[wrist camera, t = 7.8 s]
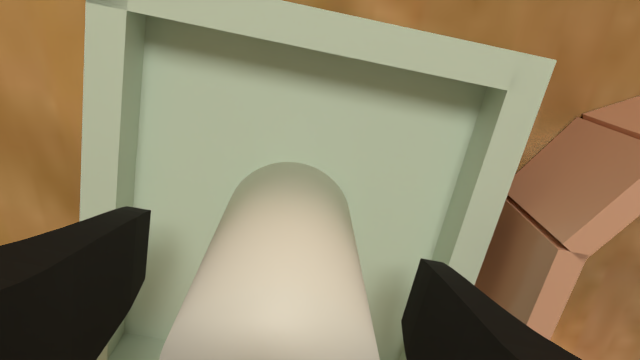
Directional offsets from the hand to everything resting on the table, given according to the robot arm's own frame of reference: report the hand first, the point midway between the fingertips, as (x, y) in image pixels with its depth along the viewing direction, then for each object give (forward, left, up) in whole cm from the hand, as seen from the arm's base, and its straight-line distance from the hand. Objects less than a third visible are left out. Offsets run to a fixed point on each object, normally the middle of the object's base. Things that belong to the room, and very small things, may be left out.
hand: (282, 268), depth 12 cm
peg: (0, 0, -3) cm, 3 cm away
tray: (0, 0, -4) cm, 4 cm away
